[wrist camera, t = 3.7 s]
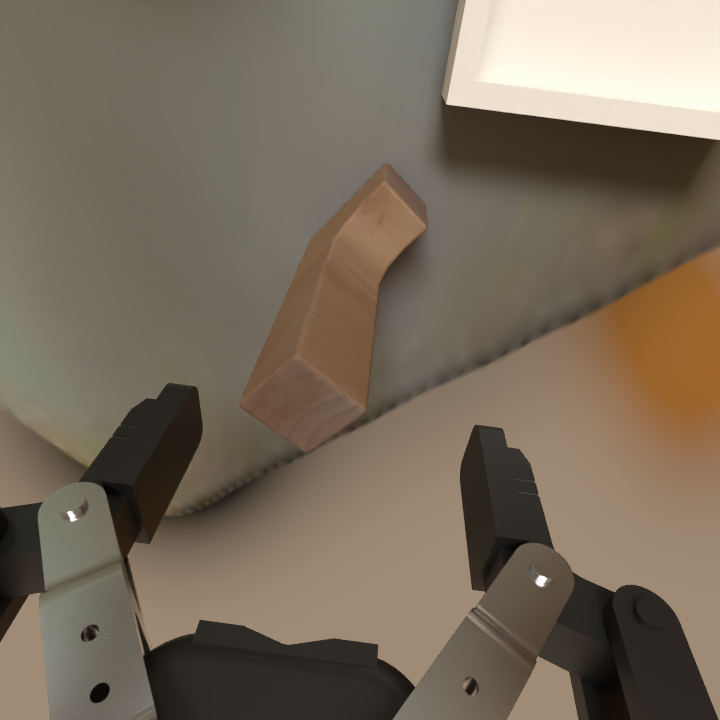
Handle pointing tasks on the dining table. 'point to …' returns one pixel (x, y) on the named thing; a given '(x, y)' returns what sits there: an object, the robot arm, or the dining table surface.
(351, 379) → the wooden block
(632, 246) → the dining table surface
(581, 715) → the robot arm
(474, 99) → the tray
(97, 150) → the dining table surface
